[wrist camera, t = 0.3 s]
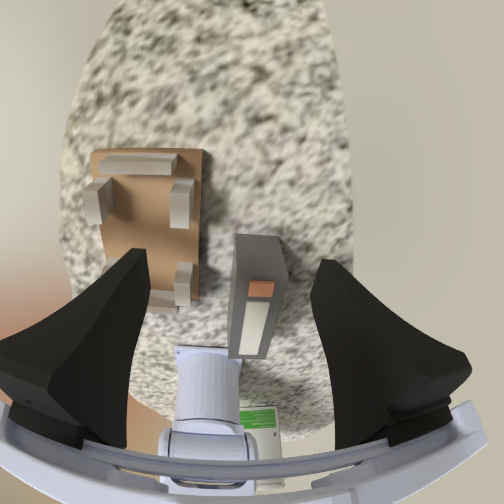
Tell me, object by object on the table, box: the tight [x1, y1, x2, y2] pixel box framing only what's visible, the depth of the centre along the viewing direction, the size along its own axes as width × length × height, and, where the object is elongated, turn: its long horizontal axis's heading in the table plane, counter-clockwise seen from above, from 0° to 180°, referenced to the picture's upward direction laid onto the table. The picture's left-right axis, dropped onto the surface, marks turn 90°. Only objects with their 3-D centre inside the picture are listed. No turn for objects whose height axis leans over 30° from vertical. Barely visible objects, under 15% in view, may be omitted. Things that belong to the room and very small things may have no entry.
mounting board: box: [82, 148, 204, 315], centre depth 19 cm, size 13×8×4 cm, turn 173°
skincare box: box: [233, 406, 285, 490], centre depth 37 cm, size 8×7×16 cm
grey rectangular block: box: [227, 234, 289, 359], centre depth 22 cm, size 10×3×5 cm, turn 173°
